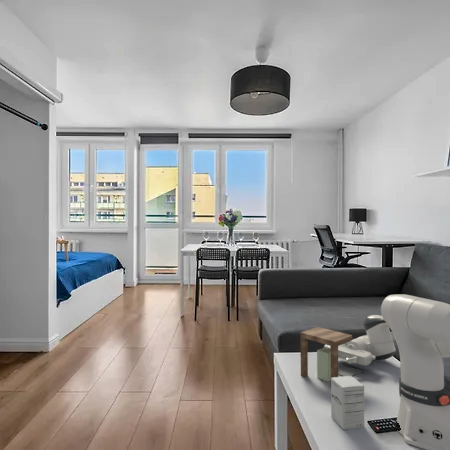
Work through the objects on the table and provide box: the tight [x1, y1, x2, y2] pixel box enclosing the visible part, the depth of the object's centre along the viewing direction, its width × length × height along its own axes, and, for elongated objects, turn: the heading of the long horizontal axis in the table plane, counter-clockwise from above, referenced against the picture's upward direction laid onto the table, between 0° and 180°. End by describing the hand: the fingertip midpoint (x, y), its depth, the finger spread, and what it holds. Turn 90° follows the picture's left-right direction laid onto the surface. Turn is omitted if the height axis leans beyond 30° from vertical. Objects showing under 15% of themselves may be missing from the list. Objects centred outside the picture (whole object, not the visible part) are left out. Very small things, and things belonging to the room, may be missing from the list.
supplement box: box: [330, 376, 365, 430], centre depth 109 cm, size 7×7×13 cm
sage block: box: [316, 346, 331, 382], centre depth 141 cm, size 5×5×11 cm
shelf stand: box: [299, 326, 353, 378], centre depth 141 cm, size 16×12×18 cm
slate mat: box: [338, 362, 362, 377], centre depth 148 cm, size 12×10×1 cm
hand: (337, 358), depth 147 cm, fingers open, 8 cm apart
